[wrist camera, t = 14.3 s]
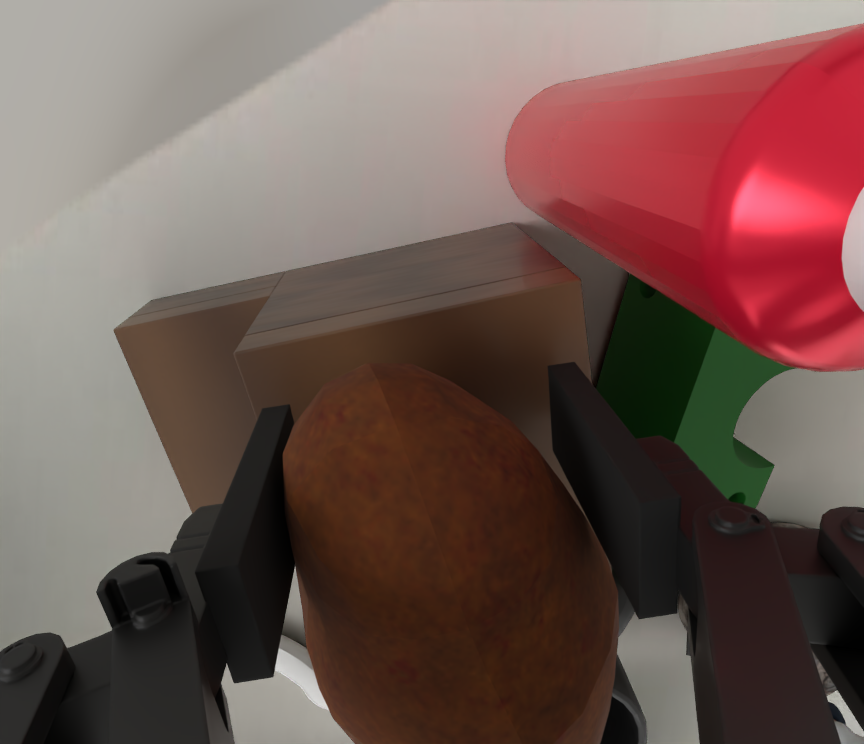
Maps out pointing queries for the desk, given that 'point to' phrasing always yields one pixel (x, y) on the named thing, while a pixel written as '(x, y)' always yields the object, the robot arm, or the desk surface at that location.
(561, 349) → the step shelf
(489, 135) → the desk surface
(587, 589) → the potato
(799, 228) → the bottle
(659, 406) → the clamp
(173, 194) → the desk surface
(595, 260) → the desk surface
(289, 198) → the desk surface
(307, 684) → the white tapered spike
